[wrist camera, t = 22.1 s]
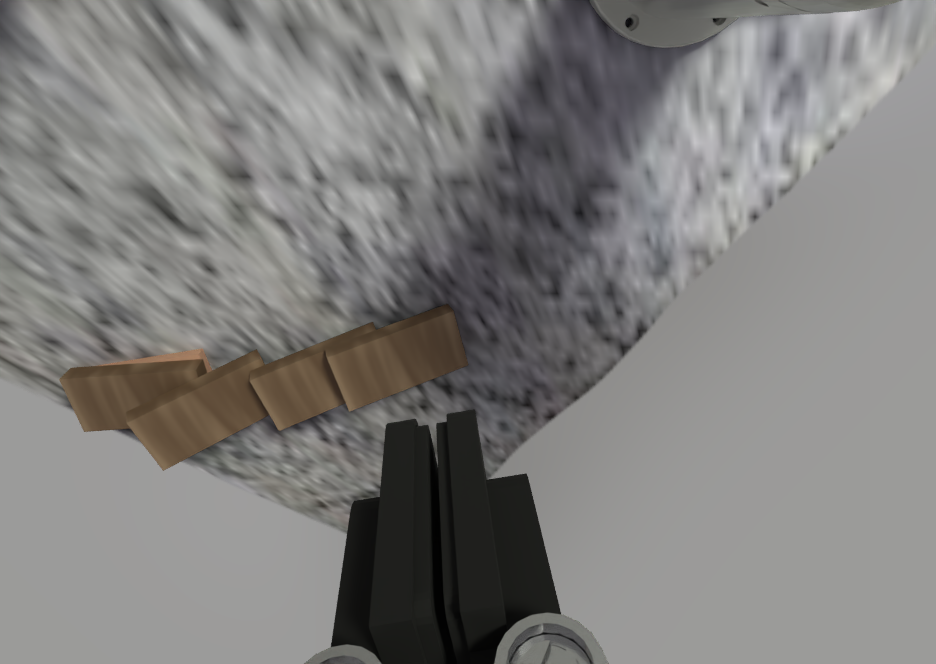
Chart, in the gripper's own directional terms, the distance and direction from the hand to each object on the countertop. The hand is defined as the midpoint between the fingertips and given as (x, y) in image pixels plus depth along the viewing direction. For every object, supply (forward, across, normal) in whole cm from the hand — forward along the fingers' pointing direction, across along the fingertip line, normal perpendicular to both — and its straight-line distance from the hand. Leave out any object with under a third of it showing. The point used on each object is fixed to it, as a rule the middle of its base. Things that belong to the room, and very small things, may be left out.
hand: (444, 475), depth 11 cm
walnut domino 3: (+30, +6, +14) cm, 34 cm away
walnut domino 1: (+30, +20, +15) cm, 39 cm away
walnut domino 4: (+30, 0, +14) cm, 33 cm away
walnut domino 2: (+30, +15, +15) cm, 37 cm away
